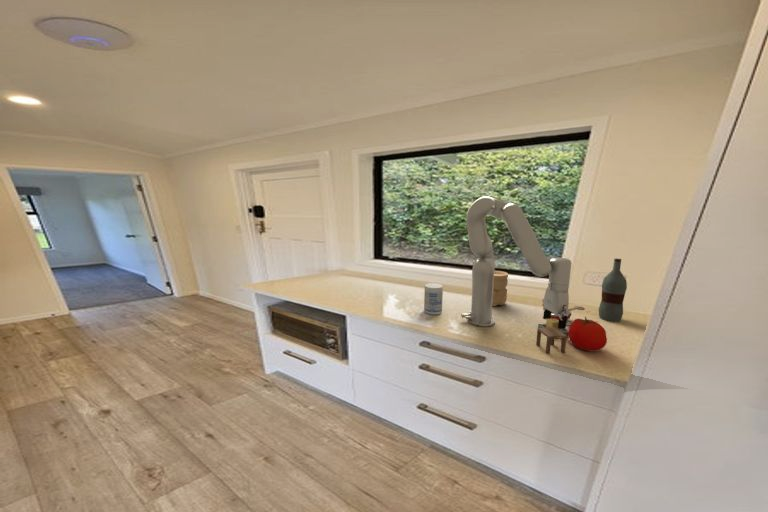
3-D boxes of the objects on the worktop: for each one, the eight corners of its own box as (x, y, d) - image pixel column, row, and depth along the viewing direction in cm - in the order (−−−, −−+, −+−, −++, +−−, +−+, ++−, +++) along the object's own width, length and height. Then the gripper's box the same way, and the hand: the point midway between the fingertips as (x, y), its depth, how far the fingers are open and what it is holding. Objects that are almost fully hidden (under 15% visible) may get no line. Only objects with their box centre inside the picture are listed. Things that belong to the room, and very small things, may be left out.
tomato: (584, 338, 118) (587, 312, 116) (615, 355, 105) (619, 326, 103) (558, 341, 116) (561, 315, 114) (586, 358, 103) (590, 329, 101)
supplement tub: (430, 316, 144) (430, 289, 141) (420, 310, 152) (421, 284, 150) (445, 313, 147) (446, 286, 145) (435, 307, 156) (436, 282, 153)
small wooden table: (547, 353, 107) (549, 336, 105) (536, 344, 113) (537, 328, 112) (564, 352, 107) (566, 335, 106) (552, 343, 114) (554, 327, 113)
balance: (552, 326, 129) (554, 309, 128) (547, 323, 133) (548, 306, 131) (584, 325, 130) (586, 308, 129) (578, 321, 134) (580, 304, 133)
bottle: (612, 315, 141) (620, 257, 135) (627, 322, 132) (636, 260, 126) (593, 315, 141) (600, 257, 136) (606, 322, 132) (615, 261, 127)
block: (551, 332, 122) (552, 322, 121) (545, 328, 126) (546, 318, 125) (560, 331, 122) (561, 322, 121) (554, 327, 126) (555, 318, 125)
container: (484, 306, 156) (485, 275, 153) (481, 299, 168) (483, 270, 165) (508, 308, 153) (510, 276, 150) (503, 300, 165) (505, 270, 162)
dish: (551, 337, 119) (551, 333, 119) (537, 328, 128) (538, 324, 128) (570, 336, 120) (571, 331, 120) (556, 327, 129) (556, 323, 128)
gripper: (537, 281, 128) (534, 316, 132) (564, 293, 111) (559, 332, 115) (552, 280, 129) (549, 315, 132) (581, 292, 112) (576, 332, 115)
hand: (553, 323), depth 123 cm, fingers open, 9 cm apart
